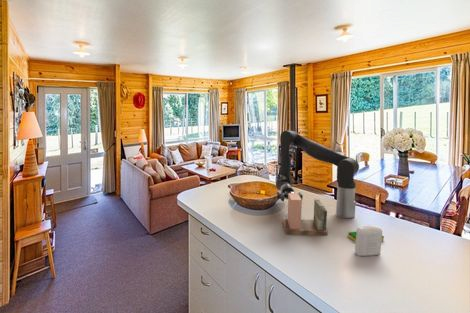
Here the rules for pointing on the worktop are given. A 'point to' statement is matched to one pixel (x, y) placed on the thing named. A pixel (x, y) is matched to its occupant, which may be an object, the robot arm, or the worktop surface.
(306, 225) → the shelf ledge
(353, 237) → the dish sponge
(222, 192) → the worktop surface
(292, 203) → the terracotta book
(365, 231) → the photo printer
